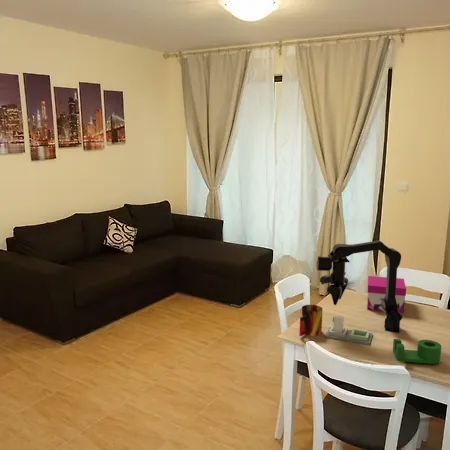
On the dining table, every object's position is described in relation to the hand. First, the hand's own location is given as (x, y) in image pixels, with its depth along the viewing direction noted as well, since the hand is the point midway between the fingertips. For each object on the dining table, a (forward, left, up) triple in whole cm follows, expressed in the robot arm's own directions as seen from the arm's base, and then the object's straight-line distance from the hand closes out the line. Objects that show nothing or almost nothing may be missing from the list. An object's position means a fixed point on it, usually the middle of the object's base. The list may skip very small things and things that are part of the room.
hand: (337, 301), depth 220 cm
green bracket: (-37, +17, -14) cm, 43 cm away
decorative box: (-19, -40, -14) cm, 46 cm away
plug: (-2, +7, -13) cm, 15 cm away
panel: (-7, +7, -14) cm, 17 cm away
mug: (+10, +11, -14) cm, 20 cm away
